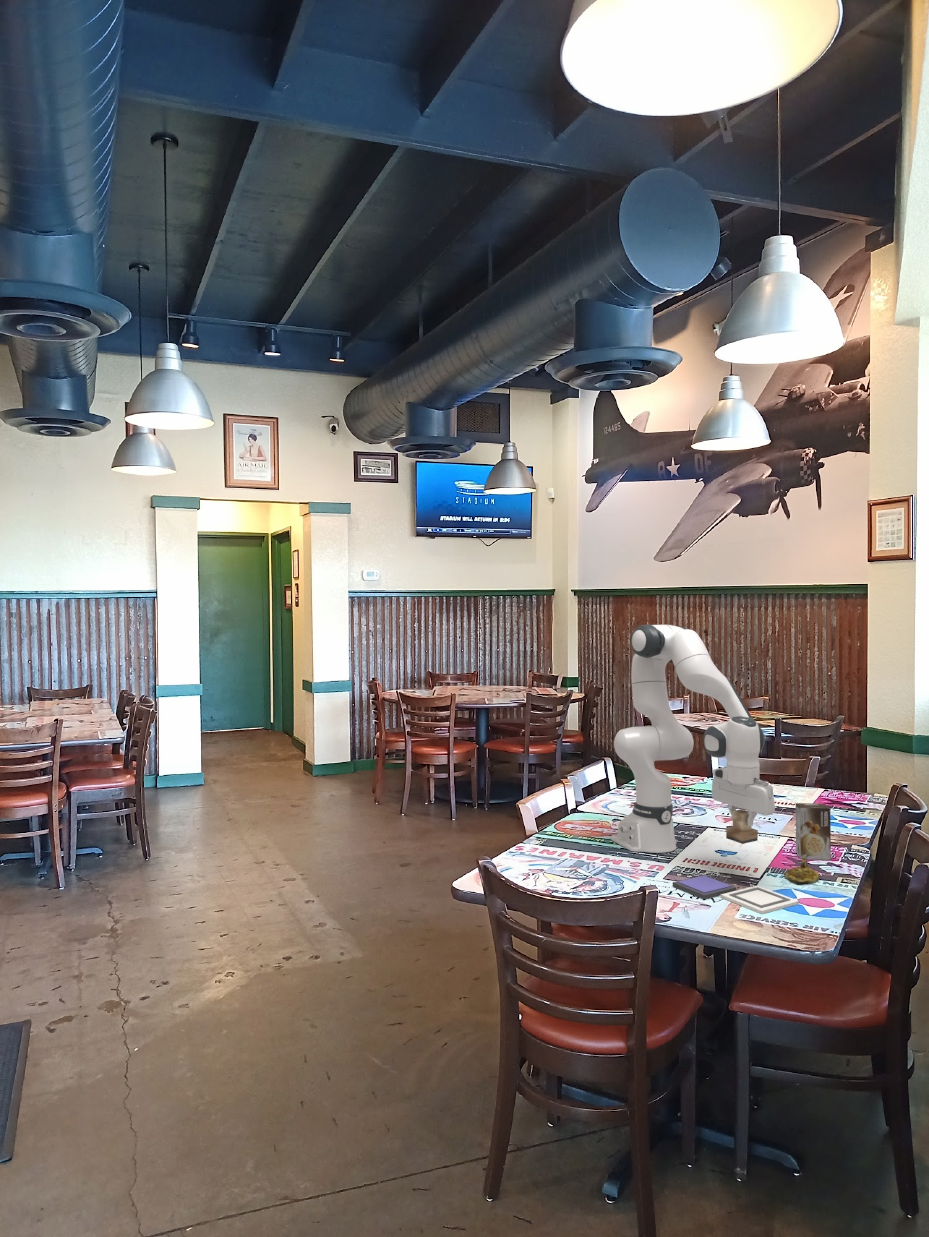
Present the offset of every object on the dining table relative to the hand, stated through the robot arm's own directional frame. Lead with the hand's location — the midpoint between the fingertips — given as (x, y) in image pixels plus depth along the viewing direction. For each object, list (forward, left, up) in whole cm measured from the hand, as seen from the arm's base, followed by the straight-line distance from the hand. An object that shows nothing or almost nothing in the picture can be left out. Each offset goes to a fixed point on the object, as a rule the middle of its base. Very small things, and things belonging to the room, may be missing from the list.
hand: (742, 823), depth 247 cm
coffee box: (-5, +36, -17) cm, 40 cm away
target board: (+13, -8, -17) cm, 23 cm away
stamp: (0, 0, -5) cm, 5 cm away
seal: (+6, +17, -17) cm, 25 cm away
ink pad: (-1, -14, -17) cm, 22 cm away
